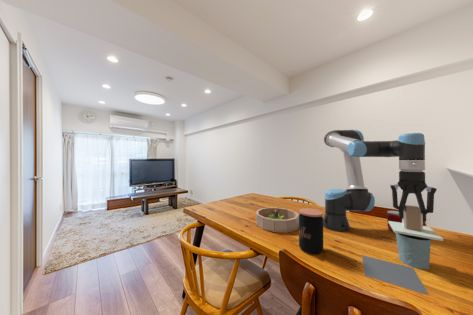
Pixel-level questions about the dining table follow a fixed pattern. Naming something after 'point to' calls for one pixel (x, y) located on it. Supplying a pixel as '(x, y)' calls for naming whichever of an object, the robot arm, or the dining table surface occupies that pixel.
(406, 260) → the blue pot
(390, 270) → the mat
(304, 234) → the coffee jar
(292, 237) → the dining table surface
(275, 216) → the plant
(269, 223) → the cachepot ring
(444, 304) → the dining table surface
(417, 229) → the lid
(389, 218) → the canned food
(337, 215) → the robot arm
